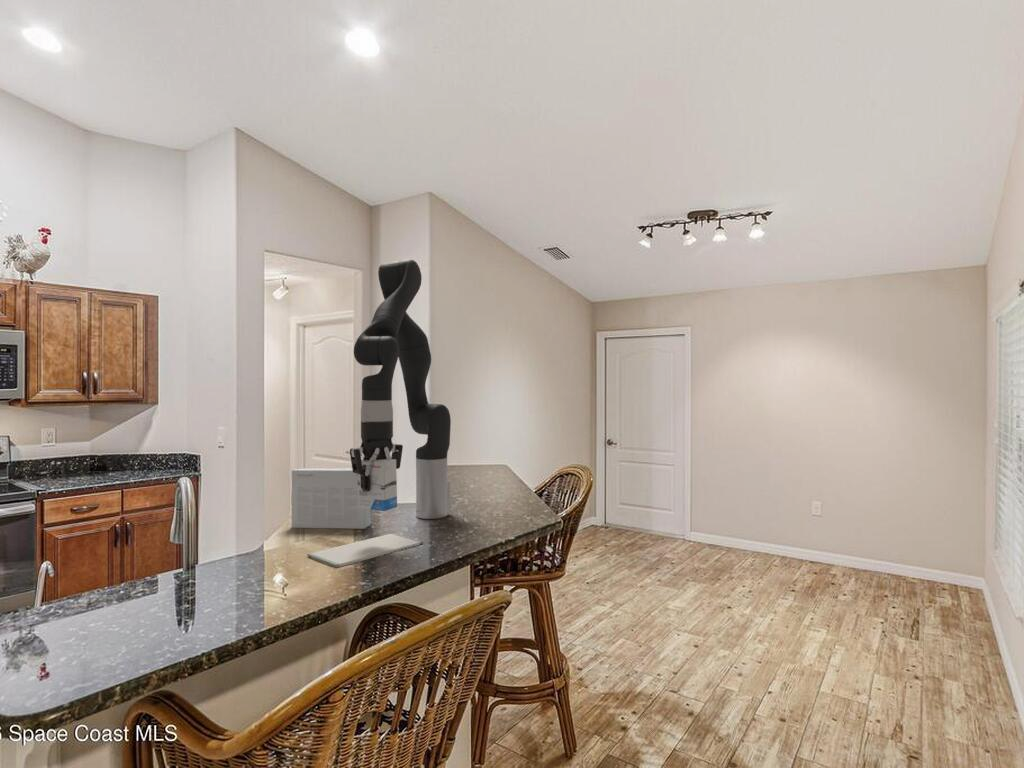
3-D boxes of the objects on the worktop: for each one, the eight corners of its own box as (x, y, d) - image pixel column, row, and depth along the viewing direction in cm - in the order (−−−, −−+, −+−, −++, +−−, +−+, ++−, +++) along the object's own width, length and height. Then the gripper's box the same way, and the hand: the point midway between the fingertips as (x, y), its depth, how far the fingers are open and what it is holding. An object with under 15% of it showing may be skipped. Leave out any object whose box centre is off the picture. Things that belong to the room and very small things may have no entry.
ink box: (398, 507, 139) (398, 459, 139) (384, 511, 134) (384, 461, 135) (370, 504, 143) (370, 457, 143) (356, 508, 139) (356, 459, 139)
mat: (392, 535, 149) (392, 533, 149) (423, 543, 142) (422, 541, 142) (307, 556, 131) (307, 553, 131) (336, 567, 124) (336, 564, 124)
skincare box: (371, 524, 161) (371, 467, 161) (365, 529, 156) (364, 470, 156) (299, 523, 163) (299, 467, 163) (290, 528, 158) (290, 470, 158)
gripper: (391, 417, 147) (392, 483, 147) (341, 420, 136) (342, 491, 136) (410, 418, 142) (410, 487, 142) (360, 421, 131) (360, 495, 131)
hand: (377, 489), depth 139 cm, fingers closed on ink box, 5 cm apart
